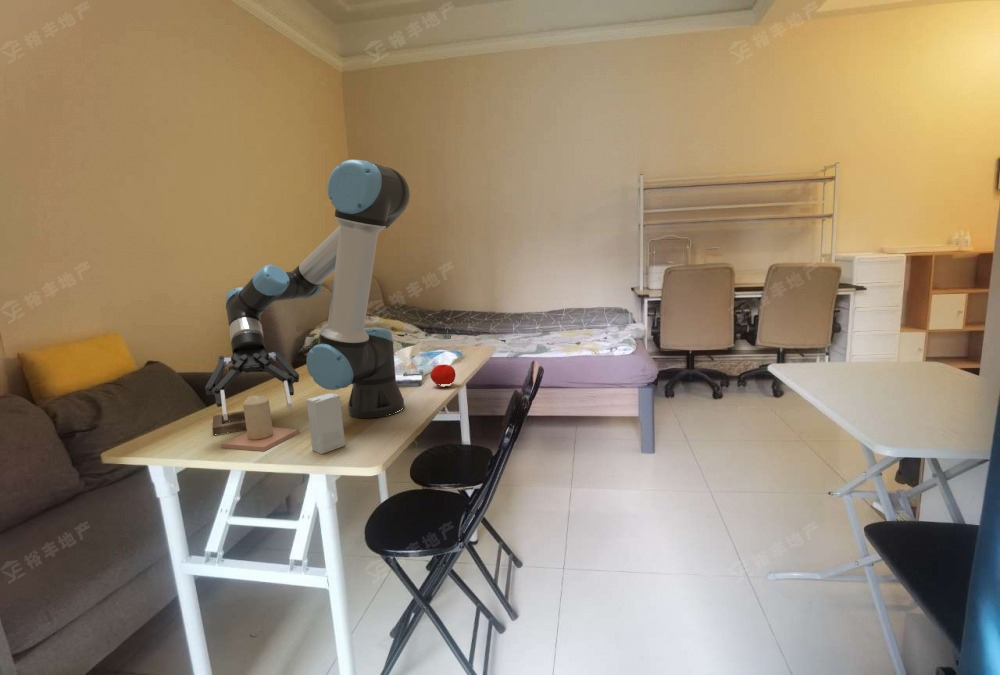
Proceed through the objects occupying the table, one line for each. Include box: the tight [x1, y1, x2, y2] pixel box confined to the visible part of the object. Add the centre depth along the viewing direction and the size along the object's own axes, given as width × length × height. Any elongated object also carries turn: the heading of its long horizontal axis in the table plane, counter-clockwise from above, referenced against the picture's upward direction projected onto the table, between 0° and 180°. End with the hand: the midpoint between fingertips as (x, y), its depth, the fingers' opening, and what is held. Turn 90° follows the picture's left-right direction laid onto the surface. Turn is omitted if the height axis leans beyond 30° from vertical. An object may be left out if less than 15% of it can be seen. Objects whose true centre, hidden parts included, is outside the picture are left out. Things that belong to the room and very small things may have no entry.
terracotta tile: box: [220, 426, 300, 452], centre depth 120 cm, size 12×12×1 cm
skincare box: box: [306, 392, 346, 455], centre depth 112 cm, size 6×4×12 cm
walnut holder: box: [212, 410, 246, 436], centre depth 133 cm, size 12×12×2 cm
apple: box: [430, 363, 456, 385], centre depth 162 cm, size 8×8×7 cm
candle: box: [242, 394, 273, 440], centre depth 120 cm, size 6×6×10 cm
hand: (258, 411), depth 117 cm, fingers open, 13 cm apart
